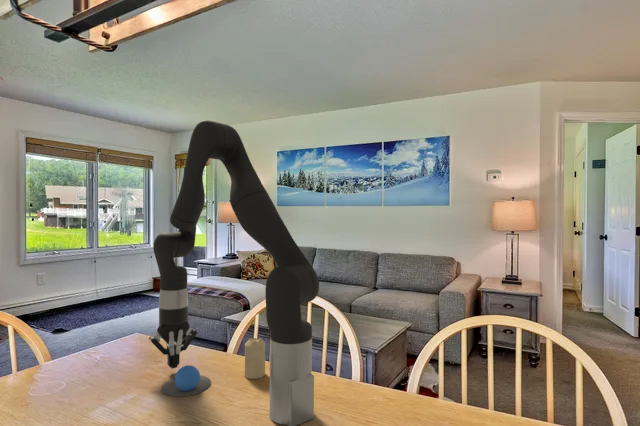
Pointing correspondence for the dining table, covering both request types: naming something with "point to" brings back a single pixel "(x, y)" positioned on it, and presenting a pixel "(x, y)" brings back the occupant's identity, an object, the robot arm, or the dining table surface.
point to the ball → (187, 378)
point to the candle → (254, 358)
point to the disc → (172, 390)
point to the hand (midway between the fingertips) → (173, 367)
